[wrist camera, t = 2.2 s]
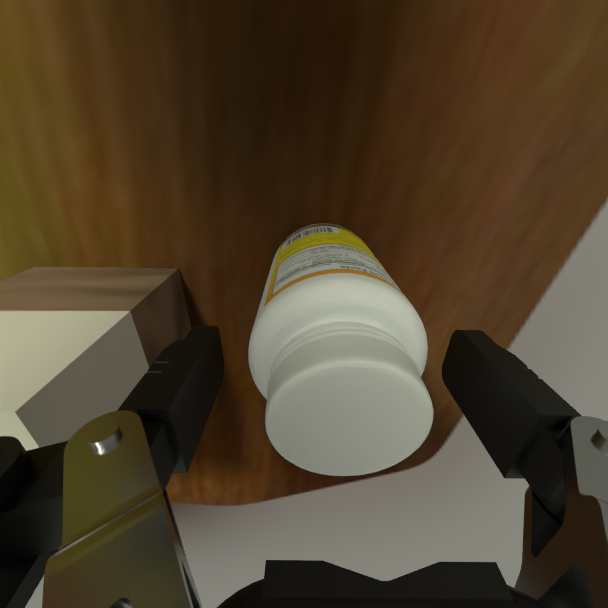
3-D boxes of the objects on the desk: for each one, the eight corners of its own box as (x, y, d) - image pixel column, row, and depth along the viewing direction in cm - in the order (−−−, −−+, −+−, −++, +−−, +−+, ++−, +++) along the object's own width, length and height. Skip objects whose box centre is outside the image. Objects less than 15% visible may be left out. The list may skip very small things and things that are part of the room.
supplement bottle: (330, 329, 17) (361, 517, 8) (254, 282, 16) (186, 448, 7) (393, 259, 15) (526, 408, 6) (310, 197, 14) (325, 273, 5)
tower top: (-70, 311, 11) (-318, 412, 7) (130, 311, 11) (15, 412, 7) (24, 441, 15) (-95, 561, 10) (173, 441, 15) (118, 561, 10)
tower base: (36, 265, 15) (-71, 308, 11) (179, 267, 15) (129, 310, 11) (87, 375, 19) (22, 440, 15) (202, 376, 19) (172, 440, 15)
